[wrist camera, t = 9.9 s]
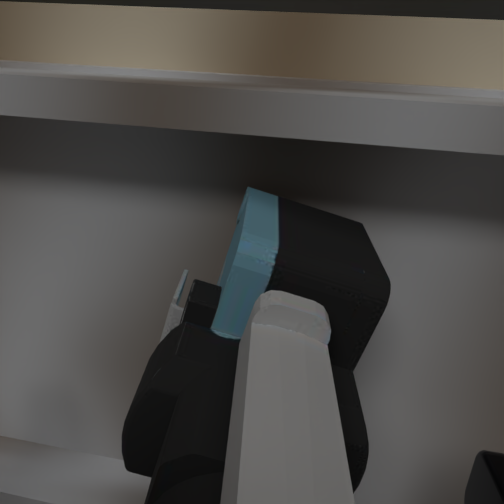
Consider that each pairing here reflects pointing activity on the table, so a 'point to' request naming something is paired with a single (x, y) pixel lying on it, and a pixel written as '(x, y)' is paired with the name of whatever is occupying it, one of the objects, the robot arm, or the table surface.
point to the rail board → (226, 212)
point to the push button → (263, 367)
